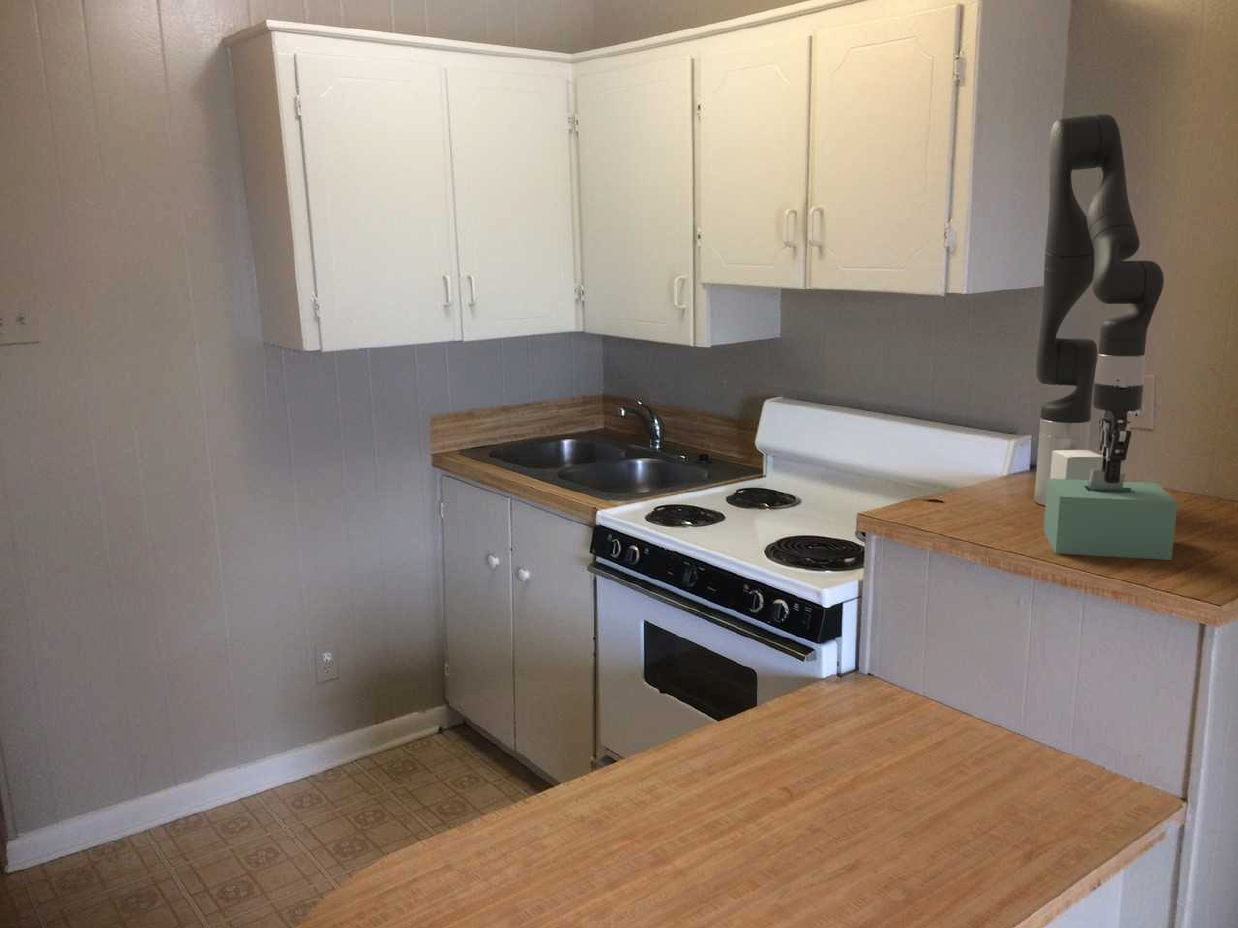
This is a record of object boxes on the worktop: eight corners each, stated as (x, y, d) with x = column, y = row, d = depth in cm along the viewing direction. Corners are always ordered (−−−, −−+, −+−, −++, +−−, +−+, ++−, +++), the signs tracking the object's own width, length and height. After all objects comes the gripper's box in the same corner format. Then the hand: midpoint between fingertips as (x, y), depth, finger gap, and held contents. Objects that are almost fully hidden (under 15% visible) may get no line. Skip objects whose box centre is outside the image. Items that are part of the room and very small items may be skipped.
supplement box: (1101, 522, 195) (1106, 456, 192) (1061, 522, 195) (1066, 457, 192) (1084, 512, 202) (1089, 449, 199) (1046, 512, 202) (1051, 449, 200)
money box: (1043, 531, 189) (1047, 478, 187) (1150, 537, 184) (1156, 482, 182) (1055, 553, 176) (1060, 496, 173) (1171, 560, 171) (1177, 501, 169)
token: (1085, 495, 180) (1091, 467, 179) (1116, 499, 179) (1121, 471, 178) (1088, 498, 178) (1093, 470, 177) (1119, 502, 177) (1125, 474, 176)
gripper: (1087, 375, 182) (1079, 471, 185) (1103, 386, 168) (1094, 489, 172) (1133, 376, 180) (1124, 473, 183) (1153, 387, 166) (1143, 491, 170)
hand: (1110, 480), depth 178 cm, fingers closed on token, 2 cm apart
